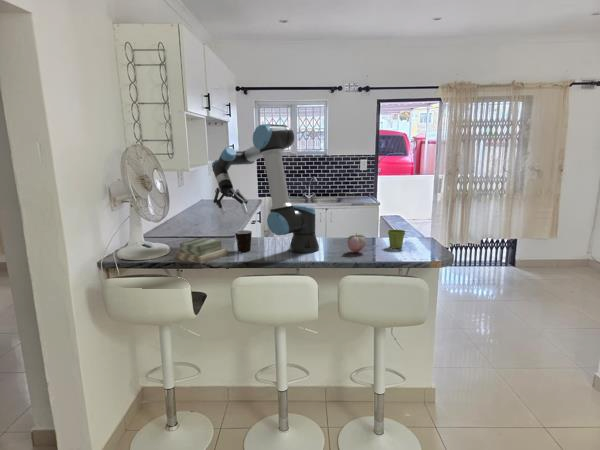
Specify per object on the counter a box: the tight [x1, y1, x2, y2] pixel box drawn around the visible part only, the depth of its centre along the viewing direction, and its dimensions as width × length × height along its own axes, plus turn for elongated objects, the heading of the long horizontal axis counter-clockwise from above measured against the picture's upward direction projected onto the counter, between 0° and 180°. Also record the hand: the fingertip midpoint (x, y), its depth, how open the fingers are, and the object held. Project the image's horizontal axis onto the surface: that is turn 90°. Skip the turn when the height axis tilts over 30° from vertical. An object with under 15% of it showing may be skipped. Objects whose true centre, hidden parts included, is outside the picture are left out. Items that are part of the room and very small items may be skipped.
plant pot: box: [387, 228, 407, 249], centre depth 204 cm, size 9×9×9 cm
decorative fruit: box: [346, 233, 367, 254], centre depth 195 cm, size 9×8×10 cm
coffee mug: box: [234, 229, 253, 253], centre depth 202 cm, size 12×9×10 cm
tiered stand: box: [174, 237, 229, 265], centre depth 193 cm, size 18×18×8 cm
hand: (235, 212), depth 210 cm, fingers open, 13 cm apart
